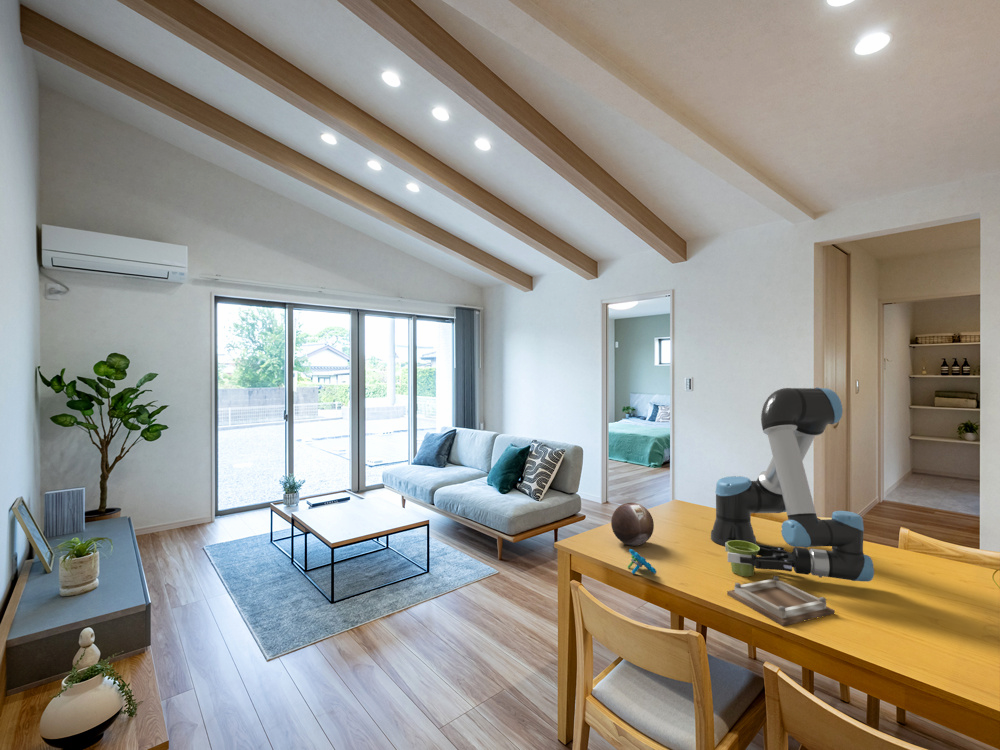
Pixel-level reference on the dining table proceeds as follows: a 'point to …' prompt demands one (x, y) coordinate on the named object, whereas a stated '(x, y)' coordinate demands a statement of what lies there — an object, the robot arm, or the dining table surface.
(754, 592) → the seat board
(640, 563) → the blue plastic toy
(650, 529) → the wooden sphere
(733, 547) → the plant pot
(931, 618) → the dining table surface
